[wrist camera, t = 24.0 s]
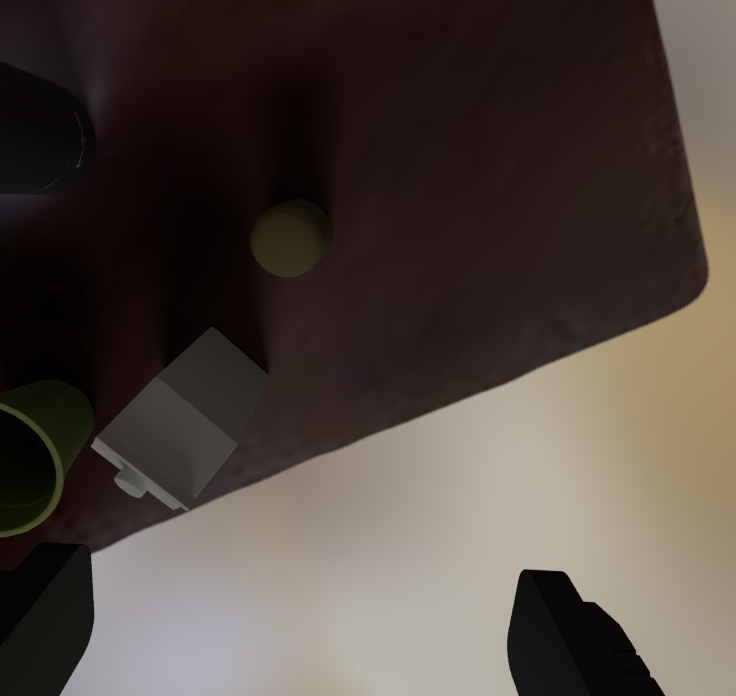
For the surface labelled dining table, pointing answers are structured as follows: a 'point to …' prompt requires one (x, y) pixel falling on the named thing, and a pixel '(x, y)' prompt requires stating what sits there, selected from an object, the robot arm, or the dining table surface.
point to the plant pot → (38, 449)
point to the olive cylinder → (291, 237)
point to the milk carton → (184, 422)
